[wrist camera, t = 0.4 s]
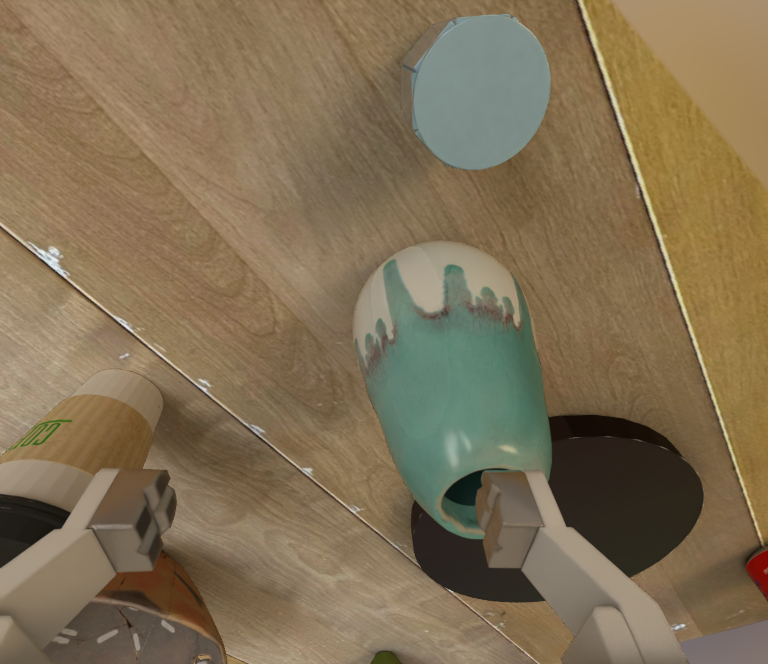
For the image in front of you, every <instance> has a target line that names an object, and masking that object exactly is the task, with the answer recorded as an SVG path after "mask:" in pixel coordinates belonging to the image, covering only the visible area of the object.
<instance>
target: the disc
mask: <svg viewBox="0 0 768 664" xmlns="http://www.w3.org/2000/svg"><path fill="white" fill-rule="evenodd" d="M548 420H549V426H550V434H551V443H552V465H551V471H550V477H549V481H548V484H549V487H550V489H551V492H552V494H553V496H554V499H555V501H556V503H557V506H558V508H559V510H560V513H561V515H562V517H563V520H564V522H565V524H566V527H572V528H574V529H575V530H576V531H577V532H578V533H579V534H580V535H581V536H583V537H584V538H585V539H586V540H587V541H588V542H589V543H590V544H592V545H593V546H594V547H595V548H596V549H597V550H598V551H599V552H600V553H602V554H603V555H604V556H605V557H606V558H607V559H608V560H609V561H611V562H612V563H613V564H614V565H615V566H616V567H617V568H618V569H620V570H621V571H622V572H623V573H624V574H625V575H626V576H627V577H628V578H630V577H632V576H634V575H636V574H638V573H640V572H642V571H643V570H645V569H647V568H649V567H651V566H652V565H654V564H655V563H657V562H658V561H660V560H661V559H662V558H664V557H665V556H667V555H668V554H669V553H671V552H672V551H673V550H674V549H675V548H676V547H677V546H678V545H679V544H680V543H681V542H682V541H683V540H684V539H685V538H686V537H687V536H688V534H689V533H690V532H691V530H692V529H693V527H694V526H695V524H696V523H697V521H698V519H699V516H700V513H701V510H702V508H703V499H704V488H703V486H702V483H701V481H700V478H699V476H698V473H697V472H696V471H695V470H694V469H693V468H692V467H691V466H690V465H689V464H688V462H687V461H686V460H685V459H684V458H683V457H682V455H681V454H680V453H679V451H678V450H677V449H676V448H675V447H674V446H673V445H672V444H671V443H670V442H669V440H668V439H667V438H666V437H664V436H662V435H661V434H659V433H657V432H656V431H654V430H652V429H651V428H649V427H647V426H644V425H641V424H638V423H635V422H632V421H629V420H626V419H622V418H614V417H606V416H598V415H573V416H558V417H552V418H548ZM411 530H412V540H413V550H414V553H415V557H416V560H417V562H418V564H419V565H420V567H421V568H422V569H423V571H424V572H425V574H427V575H428V576H429V577H430V578H432V579H433V580H434V581H435V582H437V583H438V584H439V585H441V586H443V587H445V588H447V589H449V590H451V591H453V592H456V593H459V594H462V595H466V596H469V597H472V598H477V599H483V600H489V601H496V602H514V603H519V602H541V601H546V600H545V599H544V598H543V597H542V596H541V594H540V593H539V592H538V591H537V589H536V588H535V587H534V586H533V584H532V583H531V582H530V581H529V579H528V578H527V577H526V576H525V574H524V573H523V572H522V571H521V569H522V568H489V567H488V563H487V559H486V555H485V550H484V546H483V539H469V538H465V537H461V536H459V535H457V534H454V533H452V532H450V531H448V530H447V529H445V528H443V527H442V526H441V525H440V524H438V523H437V522H436V521H435V520H434V519H433V518H432V517H431V516H430V515H429V514H428V513H427V512H426V511H425V510H424V509H423V508H422V507H421V506H420V505H419V504H418V503H417V501H416V500H415V501H414V504H413V506H412V514H411Z"/></svg>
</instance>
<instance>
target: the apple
mask: <svg viewBox="0 0 768 664" xmlns="http://www.w3.org/2000/svg"><path fill="white" fill-rule="evenodd" d="M371 664H402V663H401V662H400V661H399V660H398V659H397V657H396V656H395V655H394V654H393V653H392V652H380V653H377V654H376V655H375V657H374V659H373V660H372V662H371Z"/></svg>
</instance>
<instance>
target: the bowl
mask: <svg viewBox="0 0 768 664" xmlns="http://www.w3.org/2000/svg"><path fill="white" fill-rule="evenodd" d="M42 651H43V652H44V653H45V654H46V655H47V656H48V657H49V658H50V659H51V660H52V661H53V662H54V664H194V662H195V664H227V657H226V651H225V647H224V644H223V641H222V639H221V636H220V634H219V632H218V630H217V628H216V625H215V623H214V621H213V619H212V617H211V615H210V613H209V611H208V609H207V607H206V605H205V603H204V601H203V598H202V596H201V595H200V593H199V591H198V590H197V588H196V586H195V585H194V583H193V582H192V580H191V579H190V578H189V576H188V575H187V574H186V572H185V571H184V569H183V568H182V567H181V566H180V564H178V563H177V562H176V561H175V560H173V559H171V558H170V557H169V556H168V555H166V554H165V553H163V552H162V551H161V552H160V554H159V557H158V559H157V562H156V564H155V567H154V569H153V571H140V572H116V576H115V577H114V578H113V579H112V580H111V581H110V582H109V583H108V584H107V585H106V586H105V587H104V588H103V589H102V590H101V591H100V592H99V593H98V594H97V595H96V596H95V597H94V598H93V599H92V600H91V601H90V602H89V603H88V604H87V605H86V606H85V607H84V608H83V609H82V610H81V611H80V612H79V613H78V614H77V615H76V616H75V617H74V618H73V619H72V620H71V621H70V622H69V623H68V624H67V625H66V626H65V627H64V629H63V630H62V631H61V632H60V633H59V634H58V635H57V636H56V637H55V638H54V639H53V640H52V641H51V642H50V643H49V644H48V645H47V646H46V647H45V648H44V649H43V650H42ZM203 655H209V656H210V658H211V660H210V659H202V660H200V659H199V658H198V656H203Z"/></svg>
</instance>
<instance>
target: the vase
mask: <svg viewBox="0 0 768 664" xmlns="http://www.w3.org/2000/svg"><path fill="white" fill-rule="evenodd" d="M352 339H353V347H354V353H355V357H356V360H357V364H358V367H359V370H360V373H361V376H362V379H363V382H364V385H365V388H366V392H367V394H368V397H369V399H370V402H371V404H372V407H373V409H374V411H375V413H376V415H377V417H378V420H379V423H380V426H381V428H382V431H383V434H384V437H385V440H386V443H387V445H388V448H389V451H390V454H391V456H392V459H393V461H394V464H395V466H396V468H397V470H398V472H399V474H400V476H401V478H402V480H403V482H404V484H405V485H406V487H407V489H408V490H409V492H410V493H411V495H412V496H413V498H414V499H415V500H416V501H417V503H418V504H419V505H420V506H421V507H422V508H423V509H424V510H425V511H426V512H427V513H428V514H429V515H430V516H431V517H432V518H433V519H434V520H435V521H436V522H437V523H438V524H440V525H441V526H442V527H443V528H445V529H447V530H448V531H450V532H452V533H454V534H457V535H459V536H461V537H465V538H469V539H484V536H485V532H484V531H483V530H482V529H481V528H480V527H479V525H478V521H477V516H476V495H477V490H478V489H480V488H481V487H482V483H481V476H482V473H483V472H484V471H485V470H521V471H524V470H539V471H542V472H543V473H544V475H545V477H546V480H547V482H548V481H549V477H550V471H551V465H552V443H551V434H550V426H549V420H548V414H547V409H546V404H545V398H544V391H543V380H542V370H541V362H540V359H539V349H538V341H537V335H536V328H535V323H534V319H533V316H532V313H531V309H530V306H529V304H528V301H527V299H526V296H525V294H524V292H523V290H522V288H521V286H520V285H519V283H518V282H517V280H516V279H515V277H514V276H513V274H512V273H511V272H510V271H509V270H508V269H507V268H506V267H505V266H504V265H503V264H502V263H501V262H500V261H498V260H497V259H496V258H495V257H493V256H492V255H490V254H489V253H487V252H485V251H483V250H481V249H479V248H477V247H475V246H472V245H469V244H465V243H461V242H455V241H447V240H437V241H428V242H422V243H418V244H415V245H412V246H409V247H407V248H404V249H402V250H400V251H398V252H397V253H395V254H394V255H392V256H391V257H389V258H388V259H387V260H385V261H384V262H383V263H382V264H381V265H380V266H379V267H378V268H377V269H376V270H375V271H374V272H373V273H372V274H371V276H370V277H369V278H368V280H367V281H366V283H365V285H364V287H363V288H362V290H361V293H360V295H359V297H358V300H357V303H356V306H355V310H354V315H353V324H352Z"/></svg>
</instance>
